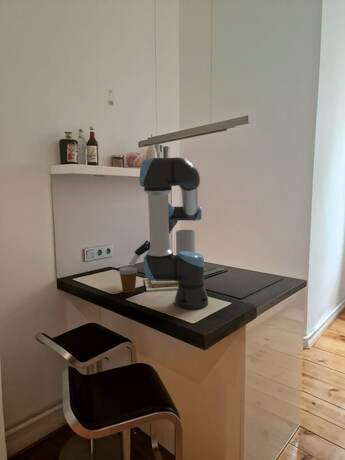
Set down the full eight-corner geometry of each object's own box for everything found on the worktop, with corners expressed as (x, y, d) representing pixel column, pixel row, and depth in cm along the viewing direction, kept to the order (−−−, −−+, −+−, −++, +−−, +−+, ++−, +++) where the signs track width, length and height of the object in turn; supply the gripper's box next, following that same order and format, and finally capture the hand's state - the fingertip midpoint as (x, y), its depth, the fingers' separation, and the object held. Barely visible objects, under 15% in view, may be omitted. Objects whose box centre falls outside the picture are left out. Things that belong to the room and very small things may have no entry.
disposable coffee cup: (141, 290, 160) (141, 267, 158) (127, 295, 153) (126, 271, 151) (130, 287, 166) (129, 265, 165) (115, 291, 159) (114, 268, 158)
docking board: (188, 289, 161) (188, 283, 161) (146, 291, 158) (146, 285, 158) (181, 277, 183) (181, 272, 182) (144, 279, 179) (144, 274, 179)
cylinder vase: (187, 265, 215) (187, 229, 212) (199, 268, 204) (198, 231, 201) (172, 267, 208) (172, 230, 205) (183, 271, 198) (183, 232, 195)
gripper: (178, 242, 163) (156, 275, 156) (150, 237, 182) (129, 267, 175) (170, 233, 159) (147, 267, 152) (142, 229, 178) (121, 259, 171)
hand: (137, 267), depth 163 cm, fingers open, 13 cm apart
